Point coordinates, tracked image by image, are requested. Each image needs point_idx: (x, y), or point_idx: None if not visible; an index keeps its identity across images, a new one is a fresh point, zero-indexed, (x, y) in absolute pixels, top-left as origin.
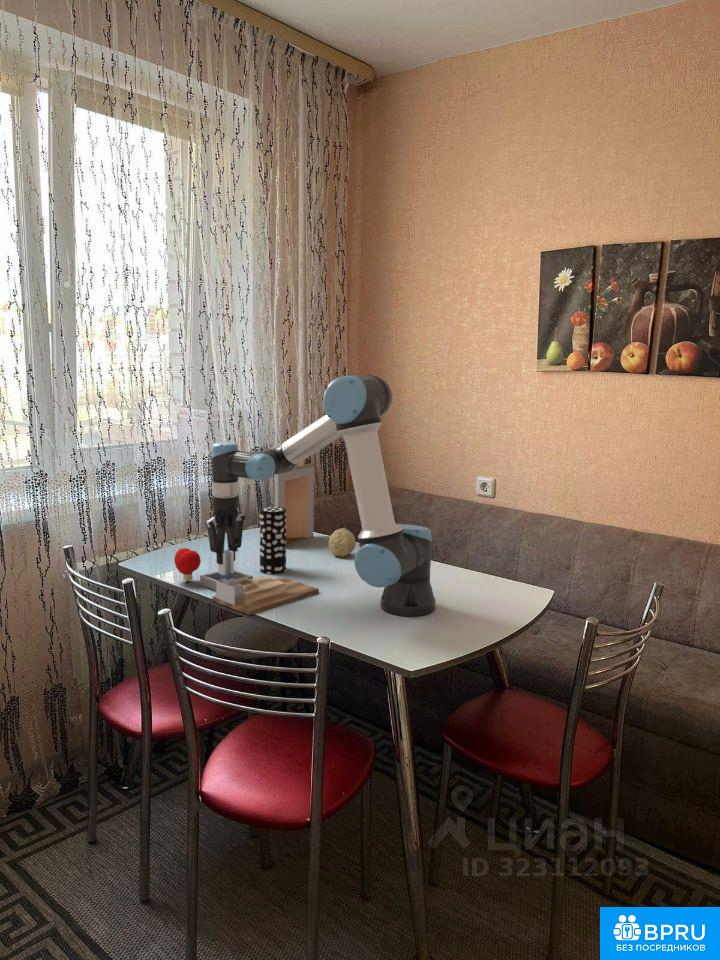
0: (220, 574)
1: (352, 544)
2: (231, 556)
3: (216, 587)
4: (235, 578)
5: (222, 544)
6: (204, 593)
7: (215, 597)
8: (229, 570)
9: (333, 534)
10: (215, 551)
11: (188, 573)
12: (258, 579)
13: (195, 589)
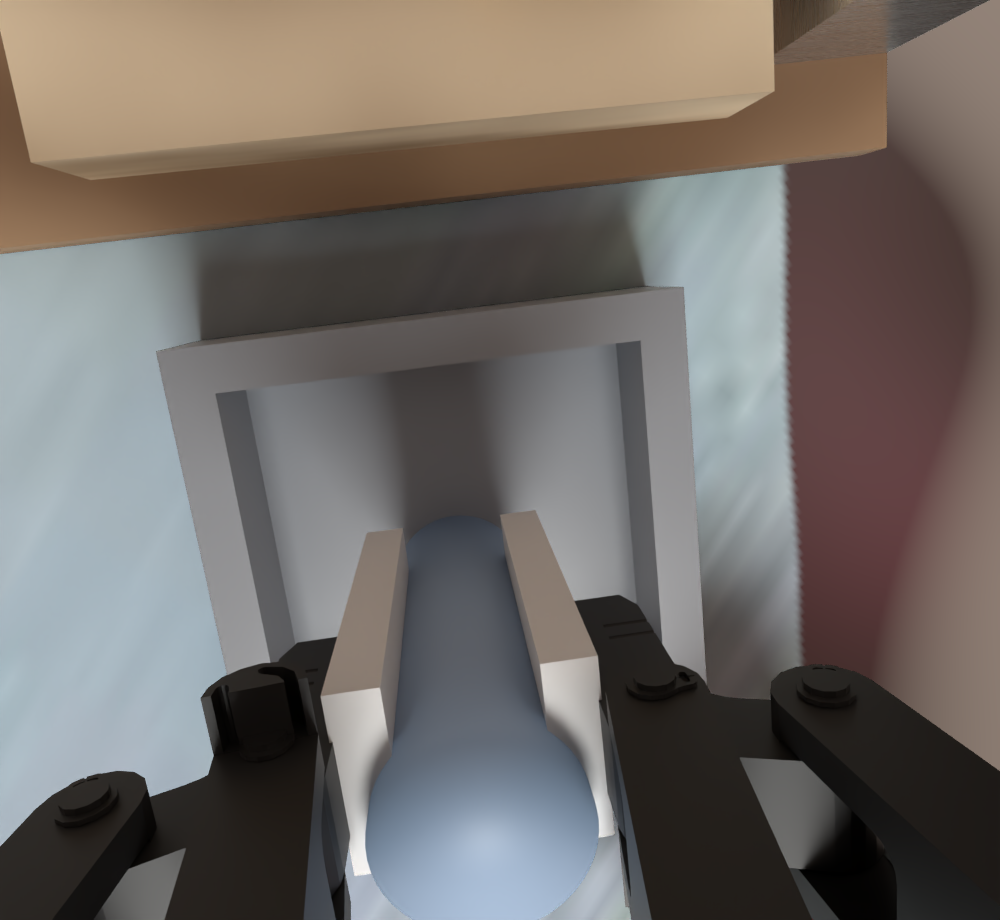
0: None
1: None
2: (386, 646)
3: (983, 2)
4: (286, 613)
5: (700, 814)
6: (780, 432)
7: (881, 86)
8: (421, 570)
9: None
10: (870, 682)
11: None
12: (206, 32)
13: (776, 600)
